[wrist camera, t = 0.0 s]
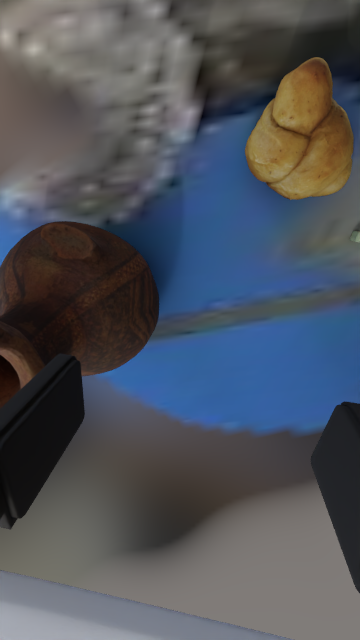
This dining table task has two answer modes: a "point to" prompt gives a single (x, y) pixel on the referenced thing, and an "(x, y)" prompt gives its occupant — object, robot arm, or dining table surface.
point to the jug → (72, 302)
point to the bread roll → (302, 136)
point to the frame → (355, 236)
